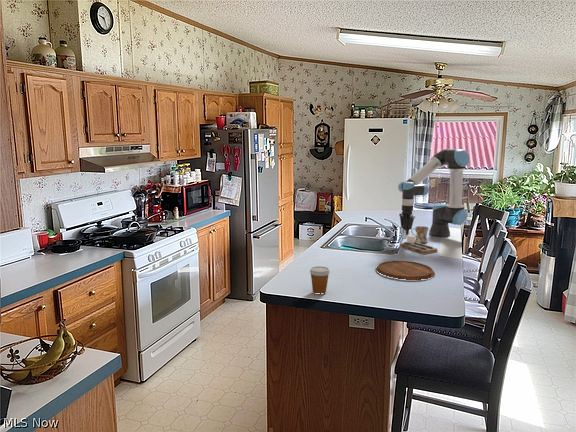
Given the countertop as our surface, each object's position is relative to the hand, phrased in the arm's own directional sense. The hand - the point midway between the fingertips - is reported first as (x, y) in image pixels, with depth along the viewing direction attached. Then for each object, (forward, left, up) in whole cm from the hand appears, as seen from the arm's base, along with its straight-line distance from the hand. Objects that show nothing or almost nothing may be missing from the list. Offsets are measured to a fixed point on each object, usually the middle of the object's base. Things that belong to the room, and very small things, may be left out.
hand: (405, 238), depth 312 cm
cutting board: (+43, +45, -5) cm, 62 cm away
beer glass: (+103, +50, -5) cm, 115 cm away
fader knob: (0, +5, -2) cm, 5 cm away
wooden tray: (0, +12, -4) cm, 13 cm away
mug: (-15, -2, -5) cm, 16 cm away
